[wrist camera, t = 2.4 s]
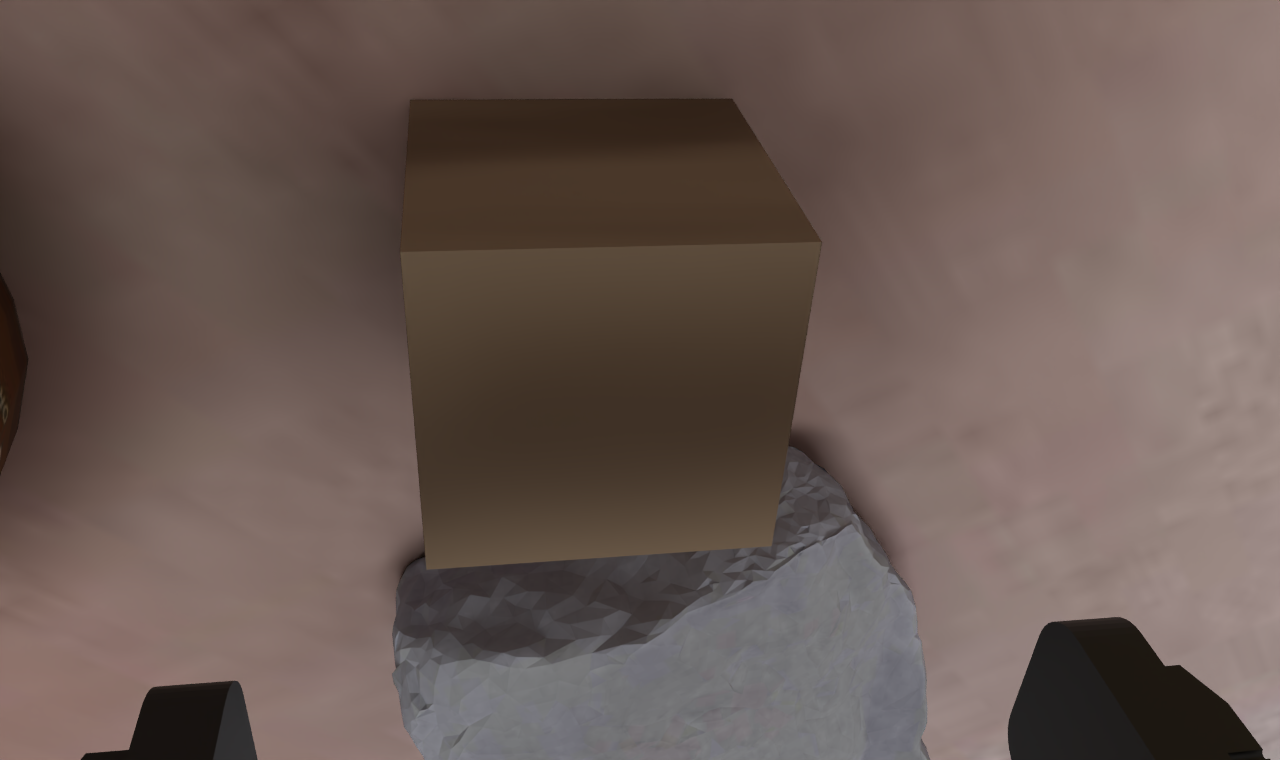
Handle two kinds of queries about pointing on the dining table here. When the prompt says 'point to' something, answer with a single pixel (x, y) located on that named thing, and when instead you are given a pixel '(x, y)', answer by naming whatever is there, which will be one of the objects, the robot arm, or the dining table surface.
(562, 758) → the stone block
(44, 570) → the dining table surface
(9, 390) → the food container
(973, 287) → the dining table surface
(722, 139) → the walnut block
